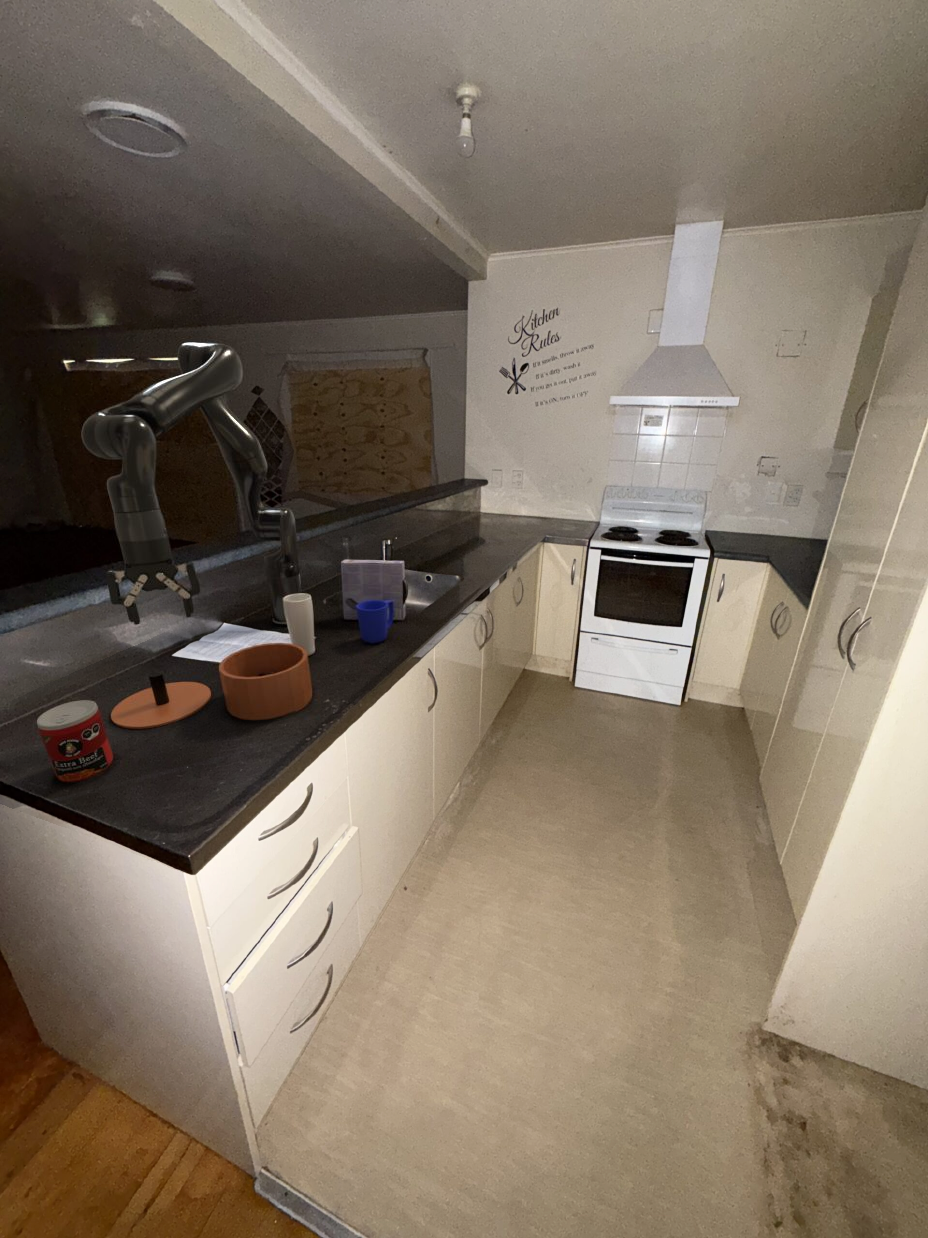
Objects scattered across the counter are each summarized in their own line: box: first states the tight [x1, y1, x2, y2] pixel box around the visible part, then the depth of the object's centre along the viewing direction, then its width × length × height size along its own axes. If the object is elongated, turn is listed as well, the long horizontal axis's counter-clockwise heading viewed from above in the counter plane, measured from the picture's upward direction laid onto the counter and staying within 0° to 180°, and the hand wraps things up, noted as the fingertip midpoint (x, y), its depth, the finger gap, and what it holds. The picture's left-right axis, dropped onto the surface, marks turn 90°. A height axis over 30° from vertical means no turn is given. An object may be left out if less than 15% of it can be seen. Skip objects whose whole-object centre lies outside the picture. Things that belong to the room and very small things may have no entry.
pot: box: [218, 642, 313, 721], centre depth 100 cm, size 17×17×10 cm
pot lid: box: [110, 671, 212, 730], centre depth 98 cm, size 18×18×8 cm
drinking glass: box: [283, 592, 316, 657], centre depth 120 cm, size 7×7×15 cm
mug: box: [356, 600, 394, 644], centre depth 131 cm, size 8×12×10 cm
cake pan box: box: [340, 559, 409, 621], centre depth 143 cm, size 19×5×18 cm, turn 89°
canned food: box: [36, 699, 114, 783], centre depth 79 cm, size 8×8×11 cm
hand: (163, 619), depth 93 cm, fingers open, 8 cm apart
